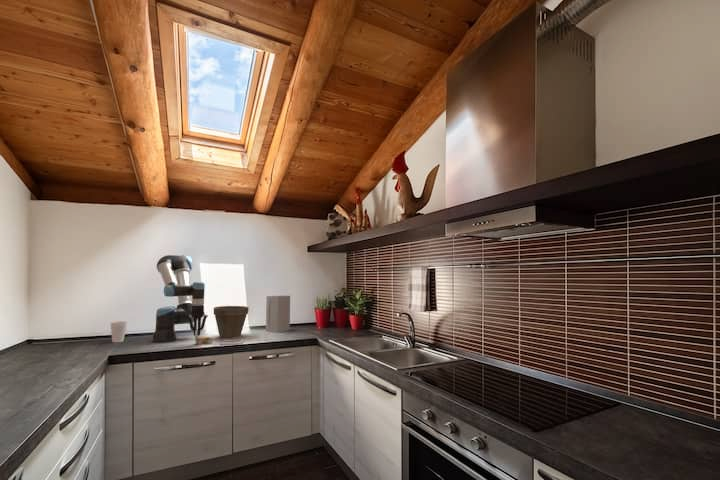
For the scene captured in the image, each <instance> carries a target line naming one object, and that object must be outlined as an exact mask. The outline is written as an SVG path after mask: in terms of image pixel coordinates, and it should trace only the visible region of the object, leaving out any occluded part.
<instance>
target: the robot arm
mask: <svg viewBox="0 0 720 480" xmlns="http://www.w3.org/2000/svg"><path fill="white" fill-rule="evenodd" d="M193 264H194V263H193V260H192V257H191V256H189V255H184V254H183V255H177V254H176V255H173V254H172V255H171V254H168V255H164V256H162V257H161V258H160V259H159V260H158V261H157V263H156V270H157V271H158V273H159V274H160V275H161V277H162V281H163V283H164V285H165V286H164V288H163V296H165V297H170V298H171V297H177V300H178V304H177V305H176V306H175V305H170V306H169V305H168V306H163V307H159V308H158V309H156V314H155V329H154V333H153V335H152V339H151V340H152V341H151V342H152V343H159V344H160V343H169V342H175V341H177V339H178V337H177V333H176V331H175V325H184V324H185V325H186V324H189V328H190V330H191V331H192V332H193V336H194V341H195V342H196V339H197V338H198V337H200V336H201V331H202V330H203V329H204V328H205V325H206V320H207V318H208V316H209V315H208V314H205V310H204V309H205V305H204V304H205V289H206V288H205V285H206V284H205V282H204V281H193V283H192V284H190V277H189V275H190V273H191V271H192V269H193ZM202 318H203V319H202Z"/></svg>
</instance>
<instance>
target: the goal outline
mask: <svg viewBox="0 0 720 480" xmlns="http://www.w3.org/2000/svg"><path fill="white" fill-rule="evenodd" d="M223 342H224V343H223ZM223 342H221V343H219V346H231V345H233V346H234V345H235V346H237V345H241V346H242V344H243V343H245V342H246V340H245V339H224V340H223ZM226 342H227V343H226Z"/></svg>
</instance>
